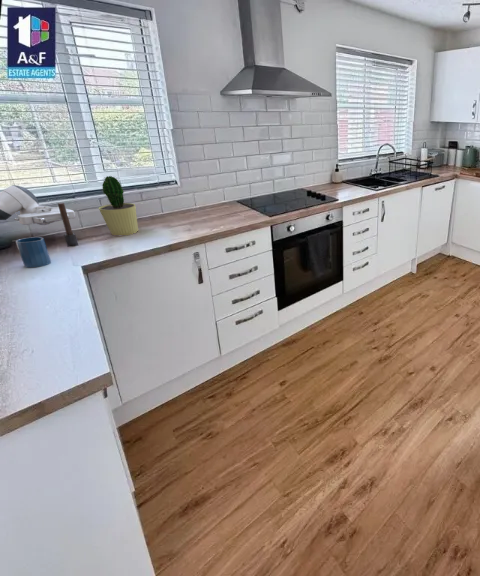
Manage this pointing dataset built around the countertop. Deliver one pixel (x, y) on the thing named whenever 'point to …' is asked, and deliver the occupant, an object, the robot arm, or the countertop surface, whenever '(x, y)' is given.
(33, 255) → the blue ribbed tumbler
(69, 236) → the brush
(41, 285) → the countertop surface
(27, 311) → the countertop surface
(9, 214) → the robot arm
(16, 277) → the countertop surface
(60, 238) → the countertop surface
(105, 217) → the potted cactus
